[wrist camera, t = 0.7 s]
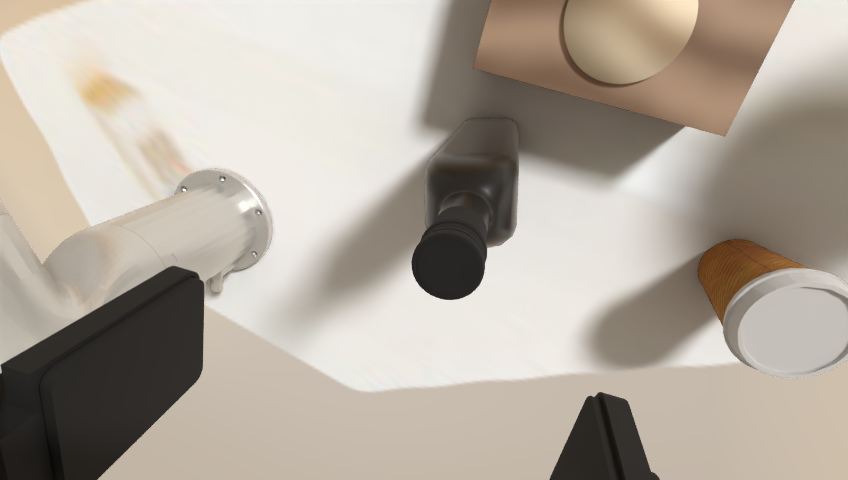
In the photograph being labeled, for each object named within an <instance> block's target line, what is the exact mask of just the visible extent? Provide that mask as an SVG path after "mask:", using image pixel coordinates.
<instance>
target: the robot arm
mask: <svg viewBox="0 0 848 480" xmlns="http://www.w3.org/2000/svg"><path fill="white" fill-rule="evenodd" d="M271 239H272V220H271V217H270V213H269V210H268V208H267V205H266V203H265V201H264V200H263V198H262V197H261V195H260V194H259V192H258V191H257V190H256V189H255V188H254V187H253V186H252V185H251V184H250V183H249V182H247V181H246V180H245V179H244V178H242V177H240V176H238V175H237V174H235V173H232V172H229V171H227V170H222V169H216V168H215V169H205V170H201V171H198V172H195V173H193V174H190V175H189V176H187V177H186V178H185V179H184V180H183V181H182V182H181V183H180V184H179V185H178V187H177V189H176V191H175V193H174V196H171V197H169V198H166V199H163V200H161V201H158V202H155V203H153V204H150V205H148V206H145V207H142V208H140V209H137V210H134V211H132V212H129V213H126V214H124V215H121V216H119V217H116V218H113V219H111V220H108V221H105V222H103V223H100V224H98V225H95V226H92V227H89V228H87V229H84V230H82V231H79V232H78V233H75V234H74V235H72V236H70V237H69V238H67V239H66V240H65V241H63V242H62V243H61V244H60V245H59V246H58V247H57V248H56V249H55V250H54V251H53V252H52V253H51V254H50V255H49V257H48V258H47V259H46V261H45V262H44V263H43V265H42V264H41V262H40V261H39V259H38V258H37V256H36V254H35V253H34V251H33V250H32V248H31V246H30V245H29V243H28V242H27V240H26V239H25V237H24V235H23V234H22V232H21V231H20V229H19V227H18V226H17V225H16V223H15V221H14V219H13V218H12V216H11V215H10V213H9V212H8V210H7V209H6V207H5V205H4V204H3V202H2V201H1V200H0V480H97V479H98V478H99V477H100V476H101V475H102V474H103V473H104V472H105V471H106V470H107V469H108V468H109V467H110V466H111V465H112V464H113V463H114V462H115V461H116V460H117V459H118V458H119V457H121V456H122V455H123V454H124V452H126V451H127V450H128V449H129V448H130V446H132V444H134V443H135V442H136V441H137V440H138V439H139V438H140V437H141V436H142V435H143V434H144V433H145V432H146V431H147V430H148V429H149V428H150V427H151V426H152V425H153V424H154V423H155V422H156V421H157V420H158V419H159V418H160V417H161V416H162V415H163V414H164V413H165V412H166V411H167V410H168V409H169V408H170V407H171V406H172V405H173V404H174V403H175V402H176V401H177V400H178V399H179V398H180V397H181V396H182V395H183V394H184V393H185V392H186V391H187V390H188V389H189V388H190V387H191V386H192V385H193V384H194V383H195V382H196V381H197V380H198V378H199V377H200V375H201V372H202V368H203V328H204V327H203V326H204V322H203V321H204V294H205V292H206V281H207V280H209V279H210V278H211V277H212V279H211V286H210V290H211V291H213V292H220V291H222V289H223V275H225V274H226V273H227V272H229V271H230V270H239V269H244V268H247V267H249V266H251V265H253V264H254V263H255V262H257V261H258V260H259V259H260V258H261V257H262V256H263V255H264V254H265V253H266V251H267V249H268V248H269V245H270V242H271ZM550 480H660V479H659V477H658V476H657V475H656V474H655V473H653V472H651V471H650V468H649V465H648V461H647V458H646V455H645V452H644V449H643V446H642V443H641V440H640V437H639V434H638V431H637V428H636V425H635V422H634V418H633V416H632V412H631V409H630V406H629V404H628V402H627V400H625V399H622V398H619V397H615V396H612V395H609V394H605V393H602V392H599V393H598V394H597V395H596V396H595V397H592V396H588V397H587V399H586V400H585V403H584V405H583V407H582V409H581V411H580V413H579V416H578V418H577V420H576V422H575V424H574V427H573V429H572V431H571V433H570V436H569V438H568V440H567V442H566V444H565V446H564V449H563V451H562V453H561V455H560V457H559V460H558V462H557V464H556V466H555V468H554V470H553V473H552V475H551V477H550Z"/></svg>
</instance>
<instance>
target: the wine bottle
mask: <svg viewBox="0 0 848 480" xmlns="http://www.w3.org/2000/svg"><path fill="white" fill-rule="evenodd" d="M518 176H519V158H518V127H517V124H516V123H515V122H514V121H513V120H511V119H507V118H496V119H470V120H466V121H465V122H464V123H463V124H462V125H461V126H460V127H459V128H458V130H457V131H456V132H455V133H454V134H453V135H452V136H451V137H450V138H449V139H448V140H447V141H446V143H445V144H444V145H443V146H442V147H441V148H440V149H439V150H438V151H437V152H436V153H435V154H434V156H433V157H432V158H431V159H430V160H429V161H428V164H427V167H426V171H425V176H424V191H425V224H426V227H427V230H426V231H425V233H424V234H423V236H422V239H421V241H420V243H419V244H418V245H417V247H416V249H415V251H414V254H413V257H412V271H413V275H414V277H415V279H416V281H417V283H418V284H419V285H420V287H421V288H422V289H424V290H425V291H426V292H427V293H429V294H430V295H432V296H434V297H437V298H440V299H445V300H454V299H460V298H463V297H465V296H467V295H469V294H471V293H472V292H473V291H474V290H475V289H476V288H477V287H478V286H479V285H480V283H481V281H482V278H483V275H484V270H485V261H486V258H487V247H494V246H499V245H501V244H503V243H504V242H506V241H507V240H508V239H509V238H510V237H512V236H513V234H514V231H515V228H516V225H517V201H518Z"/></svg>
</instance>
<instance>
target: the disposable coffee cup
mask: <svg viewBox="0 0 848 480" xmlns="http://www.w3.org/2000/svg"><path fill="white" fill-rule="evenodd" d="M698 277H699V280H700V282H701V284H702V286H703V288H704V290H705V292H706V294H707V296H708V298H709V300H710V302H711V304H712V306H713V308H714V310H715V312H716V313H717V315H718V318H719V320H720V322H721V324H722V326H723V334H724V338H725V341H726V343H727V346H728V347H729V349H730V350H731V352H732V353H733V354H734V355H735V356H736V357H737V358H738V359H739V360H740V361H741V362H743V363H744V364H746V365H748V366H750V367H752V368H754V369H756V370H759V371H761V372H763V373H765V374H768V375H771V376H775V377H780V378H792V379H798V378H806V377H813V376H817V375H819V374H822V373H825V372H828V371H830V370H833V369H834V368H836V367H838V366H839V365H841V364H842V363H844V362H846V361H847V360H848V283H847V282H845V281H844V280H842V279H841V278H839V277H837V276H835V275H833V274H830V273H827V272H824V271H820V270H814V269H808V268H807V267H804V266H802V265H800V264H797V263H796V262H793V261H792V260H789V259H787V258H785V257H783V256H780V255H779V254H776V253H774V252H772V251H770V250H767V249H765V248H763V247H761V246H759V245H757V244H755V243H753V242H750V241H746V240H737V239H735V240H728V241H725V242H722V243H719V244H717V245H715V246H714V247H712V248H711V249H709V250H708V251H707V252H706V253H705V255H704V256H703V257H702V259H701V261H700V264H699V267H698Z"/></svg>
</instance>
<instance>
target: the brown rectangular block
mask: <svg viewBox="0 0 848 480" xmlns="http://www.w3.org/2000/svg"><path fill="white" fill-rule="evenodd" d="M794 1H795V0H491V3H490V6H489V10H488V14H487V17H486V21H485V25H484V28H483V32H482V36H481V40H480V43H479V47H478V51H477V54H476V58H475V62H474V66H473V69H477V70H481V71H485V72H488V73H492V74H496V75H499V76H503V77H507V78H510V79H514V80H518V81H522V82H525V83H529V84H533V85H536V86H540V87H544V88H547V89H551V90H555V91H559V92H562V93H566V94H570V95H573V96H577V97H581V98H584V99H588V100H592V101H596V102H599V103H603V104H607V105H610V106H614V107H618V108H621V109H625V110H629V111H633V112H636V113H640V114H644V115H647V116H651V117H655V118H658V119H662V120H666V121H670V122H673V123H677V124H681V125H684V126H688V127H692V128H695V129H699V130H703V131H706V132H710V133H714V134H718V135H721V136H726V134H727V132H728V130H729V128H730V126H731V124H732V122H733V120H734V118H735V116H736V114H737V112H738V110H739V108H740V106H741V104H742V102H743V100H744V99H745V97H746V95H747V93H748V91H749V89H750V87H751V85H752V83H753V81H754V79H755V77H756V75H757V73H758V71H759V69H760V67H761V65H762V63H763V61H764V59H765V57H766V55H767V53H768V51H769V50H770V48H771V46H772V44H773V42H774V40H775V38H776V36H777V34H778V32H779V30H780V28H781V26H782V24H783V22H784V20H785V18H786V16H787V14H788V12H789V10H790V8H791V6H792V4H793V2H794Z"/></svg>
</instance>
